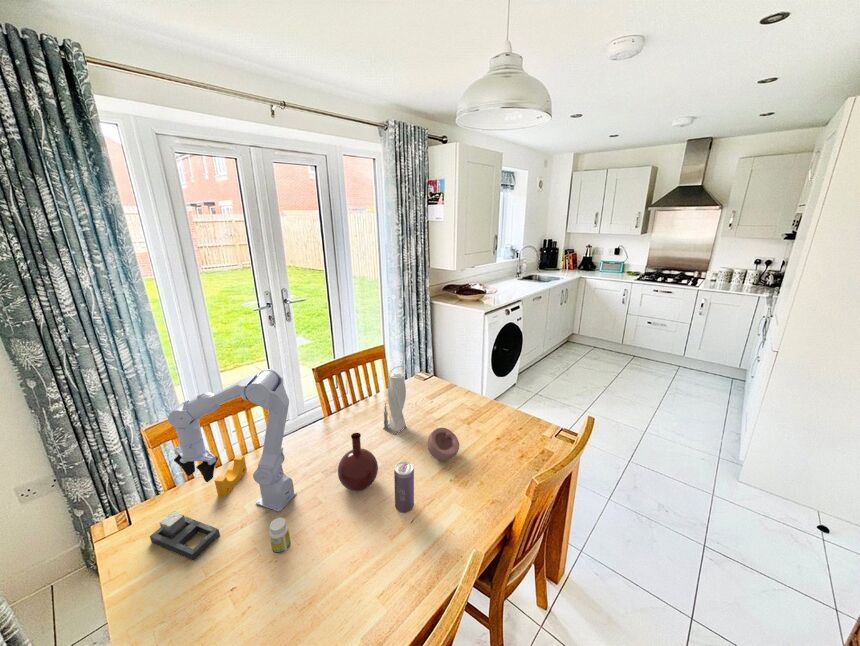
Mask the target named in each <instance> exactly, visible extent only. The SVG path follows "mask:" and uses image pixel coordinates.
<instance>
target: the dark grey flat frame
mask: <svg viewBox="0 0 860 646" xmlns="http://www.w3.org/2000/svg"><path fill="white" fill-rule="evenodd" d="M184 518H185V521H186V525H187V527H186V528H185V529H183V530H182V531H181V532H180V533H179V534H178V535H177V536H175V537H174V538H173V539H172V540H171V539H168V538H166V537H164V536H163V533H162V529H161V526H160V527H159V528H158V529H156V531H154V532H152V534H150V535H149V539H150V543H151V544H154V545H156V546H158V547H160V548H162V549H165V550H167V551H170V552H171V553H175V554H176V555H179V556H181V557H184V558H186V559H188V560H191V561H193V562H194V561H196V560H197V559H198V558H199V556H201V555H202V554H203V553H204V552H205V551H206V550H207V549H208V548H209V547H210V546H211V545H212V544H213V543H214V542H215V541H216V540H217V539H218V538H219V537H220V536H221V534H220V530H219V528H216V527H214V526H212V525H209V524H206V523H204V522H201V521H198V520H196V519H192V518H191V517H188V516H185V515H184ZM198 533H200V534H203V535H205V537H204V538H203V539H202V540H200V541H199V542H198V543H197V544H196V545H195V547H193V548H192V547H190V546H187V545H186V544H187V543H188V542H190V541H191V540H192V539H193V538H194V537H196V536H197V534H198Z"/></svg>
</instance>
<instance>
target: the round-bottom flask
mask: <svg viewBox="0 0 860 646" xmlns="http://www.w3.org/2000/svg"><path fill="white" fill-rule="evenodd" d="M361 436H362V434H361V433H359V432H353V433H351V435H350V438H351V445H352V449H351V450H348V452H346V453H344V455H343V456H342V457H341V459H340V460H339V463H338V467H337V477H338V479H339V482H340V484H341V485H342V486H343V487H344V488H345V489H347V490H349V491H352V492H361V491H364V490H366V489H368V488H370V487H371V485H372V484H373V483H374V482H375V481H376V479H377V476H378V471H379V464H378V461H377V459H376V456H375V455H374V454H373V452H371V451H370V450H368V449H365V448H362V447H361V445H362V444H361Z"/></svg>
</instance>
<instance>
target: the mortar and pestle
mask: <svg viewBox="0 0 860 646" xmlns="http://www.w3.org/2000/svg"><path fill="white" fill-rule="evenodd" d="M426 445H427V449H428V452H429V454H430V455H431V457H433V458H434V459H435V460H437V461H440V462H447V461H450V460H452V459H454V457H456V456H457V455H458V452H459V450H460V441H459V438H458V437H457V435H456V434H455V433H454V432H453V431H452V430H450V429H448V428H447V427H437V428H435V429H433V431H431V433H430V434H429V436H428V438H427V444H426Z"/></svg>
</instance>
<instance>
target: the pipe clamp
mask: <svg viewBox="0 0 860 646" xmlns="http://www.w3.org/2000/svg"><path fill="white" fill-rule="evenodd" d="M247 471H248V468H247V465H246V459H245V455H236V456H235V457H234V458H233V463H232V464H231V465H230V466H229V468H227V470H226V473H224V476H219V475H218V476H217V477H216V478H215V480H214V485H215V489H216V493H217V497H224V498H225V497H227V495H228V494H229V493H230V492H231V491H232V490H233V488H234V487H235V486H236V485H237V483H238V482H239V481H240V479H241V478H242V477H243V476H244V474H245V473H246V472H247Z"/></svg>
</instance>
